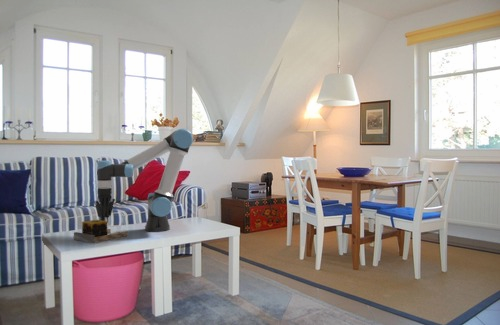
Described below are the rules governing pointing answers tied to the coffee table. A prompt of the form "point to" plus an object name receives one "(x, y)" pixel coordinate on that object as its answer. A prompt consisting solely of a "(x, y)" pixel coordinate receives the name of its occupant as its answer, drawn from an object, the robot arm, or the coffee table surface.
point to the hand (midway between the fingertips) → (104, 228)
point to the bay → (93, 239)
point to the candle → (95, 227)
